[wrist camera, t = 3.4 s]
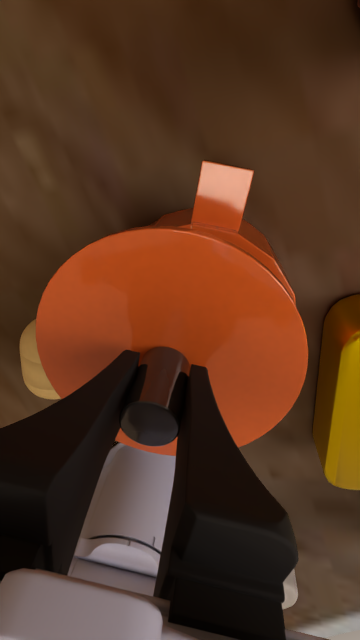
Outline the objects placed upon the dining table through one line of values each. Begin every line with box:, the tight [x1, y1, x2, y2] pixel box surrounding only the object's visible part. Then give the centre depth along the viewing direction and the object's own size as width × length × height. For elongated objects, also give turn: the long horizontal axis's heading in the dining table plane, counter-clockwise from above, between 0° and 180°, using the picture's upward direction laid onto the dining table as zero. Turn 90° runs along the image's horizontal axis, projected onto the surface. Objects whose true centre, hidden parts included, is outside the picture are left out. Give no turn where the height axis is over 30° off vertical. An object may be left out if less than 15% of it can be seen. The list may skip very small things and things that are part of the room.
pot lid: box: [36, 226, 308, 456], centre depth 13 cm, size 12×12×4 cm
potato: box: [20, 319, 60, 399], centre depth 24 cm, size 7×5×5 cm, turn 170°
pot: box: [150, 160, 296, 305], centre depth 20 cm, size 11×17×5 cm
